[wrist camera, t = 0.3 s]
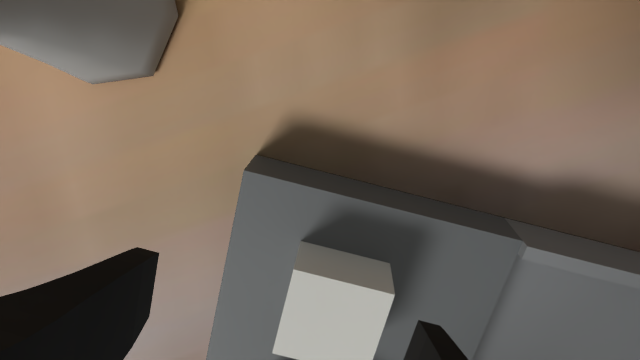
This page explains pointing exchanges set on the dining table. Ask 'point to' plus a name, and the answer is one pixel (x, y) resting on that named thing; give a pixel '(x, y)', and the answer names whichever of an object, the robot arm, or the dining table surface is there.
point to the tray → (565, 301)
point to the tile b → (334, 306)
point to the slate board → (364, 240)
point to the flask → (90, 35)
